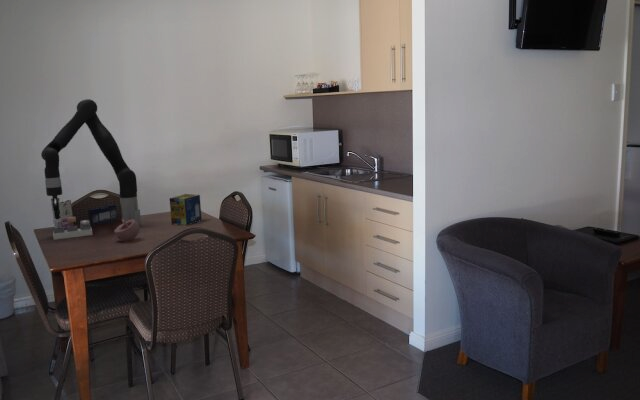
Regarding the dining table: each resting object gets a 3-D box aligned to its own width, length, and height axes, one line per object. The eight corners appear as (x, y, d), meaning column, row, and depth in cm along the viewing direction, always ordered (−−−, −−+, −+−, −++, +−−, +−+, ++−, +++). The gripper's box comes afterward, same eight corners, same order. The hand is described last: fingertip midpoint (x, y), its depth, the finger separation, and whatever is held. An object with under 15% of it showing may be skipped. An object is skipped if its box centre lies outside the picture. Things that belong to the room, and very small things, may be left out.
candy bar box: (67, 227, 325) (63, 199, 322) (74, 227, 324) (71, 199, 321) (54, 231, 314) (50, 202, 311) (62, 231, 313) (58, 202, 310)
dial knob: (76, 224, 301) (75, 215, 300) (76, 225, 297) (75, 217, 296) (67, 225, 299) (66, 216, 298) (67, 226, 295) (66, 218, 295)
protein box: (171, 225, 318) (168, 198, 315) (187, 219, 332) (185, 193, 329) (186, 225, 314) (184, 198, 311) (202, 220, 328) (200, 194, 325)
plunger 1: (63, 225, 298) (62, 217, 298) (63, 227, 294) (62, 219, 294) (54, 226, 297) (53, 218, 296) (54, 228, 293) (53, 220, 292)
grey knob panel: (91, 232, 306) (90, 223, 305) (92, 234, 300) (91, 225, 299) (53, 237, 298) (52, 228, 298) (53, 239, 292) (52, 230, 291)
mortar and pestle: (112, 240, 283) (109, 218, 282) (135, 236, 291) (133, 215, 289) (119, 244, 274) (117, 222, 272) (143, 240, 281) (141, 218, 279)
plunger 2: (89, 227, 304) (88, 219, 303) (90, 228, 300) (89, 220, 299) (81, 228, 302) (80, 220, 302) (81, 229, 298) (80, 221, 298)
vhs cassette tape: (92, 226, 323) (90, 209, 322) (89, 226, 325) (87, 209, 323) (118, 220, 338) (116, 204, 337) (115, 220, 340) (113, 204, 338)
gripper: (61, 186, 288) (65, 219, 290) (61, 184, 299) (65, 215, 302) (45, 188, 285) (49, 221, 287) (46, 185, 296) (49, 217, 299)
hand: (57, 218), depth 295 cm, fingers closed
